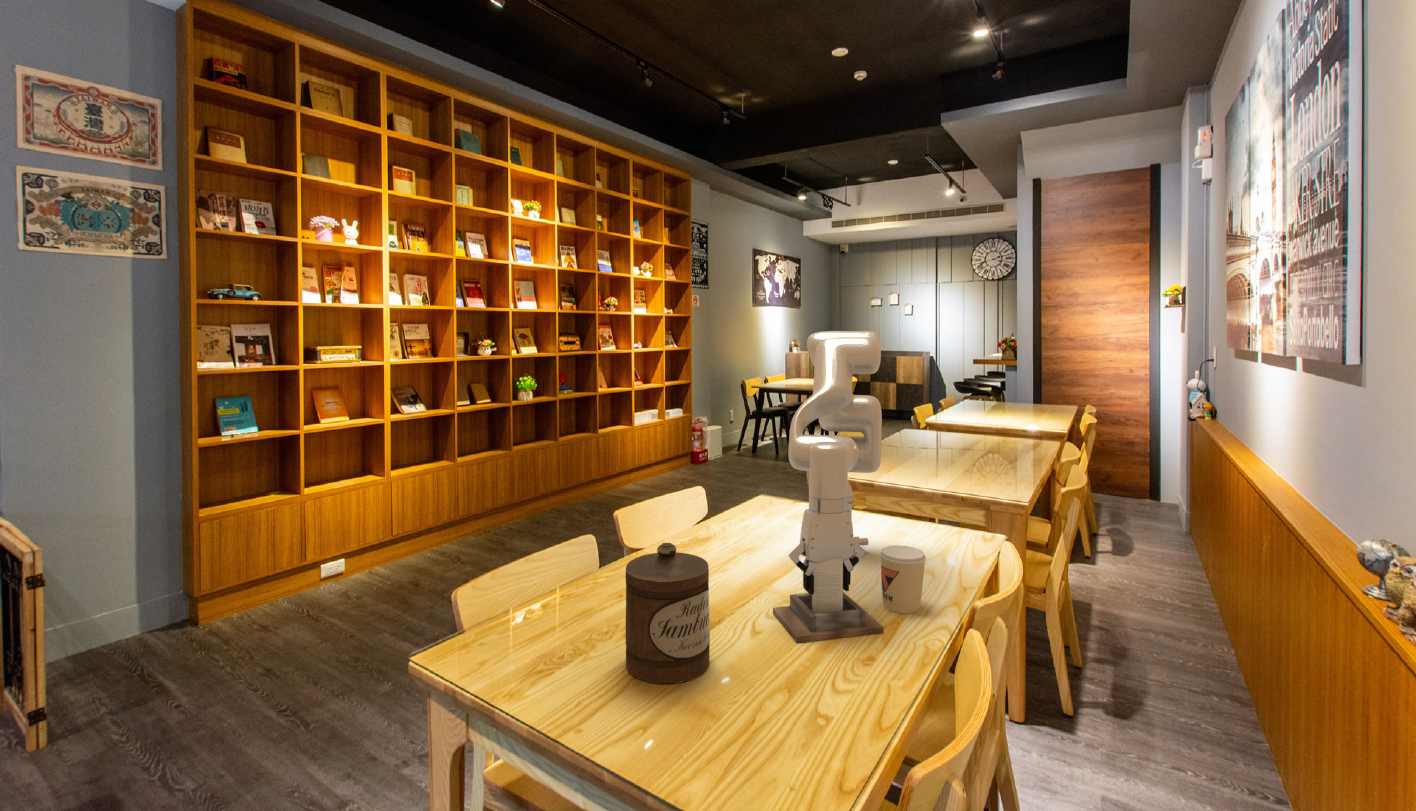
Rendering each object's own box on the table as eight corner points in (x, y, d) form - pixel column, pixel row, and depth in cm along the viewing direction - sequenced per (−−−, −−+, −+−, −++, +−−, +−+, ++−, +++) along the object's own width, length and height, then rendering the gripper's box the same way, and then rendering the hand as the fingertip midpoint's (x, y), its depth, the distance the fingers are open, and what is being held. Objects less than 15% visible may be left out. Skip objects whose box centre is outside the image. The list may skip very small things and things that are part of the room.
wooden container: (668, 694, 110) (666, 563, 107) (609, 665, 119) (606, 544, 117) (726, 661, 121) (726, 542, 118) (668, 637, 130) (666, 526, 128)
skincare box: (840, 608, 138) (841, 552, 137) (842, 617, 134) (843, 559, 133) (810, 607, 139) (811, 551, 137) (811, 616, 135) (812, 558, 133)
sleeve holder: (852, 604, 145) (852, 586, 145) (883, 632, 132) (883, 612, 131) (772, 613, 141) (772, 593, 141) (796, 642, 128) (796, 621, 127)
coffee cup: (872, 598, 149) (874, 545, 148) (914, 596, 150) (915, 544, 148) (887, 615, 140) (889, 559, 138) (931, 614, 140) (933, 558, 139)
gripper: (859, 496, 140) (858, 579, 142) (780, 502, 136) (779, 587, 138) (876, 506, 132) (874, 593, 134) (793, 512, 128) (792, 601, 130)
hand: (826, 589), depth 136 cm, fingers closed on skincare box, 6 cm apart
